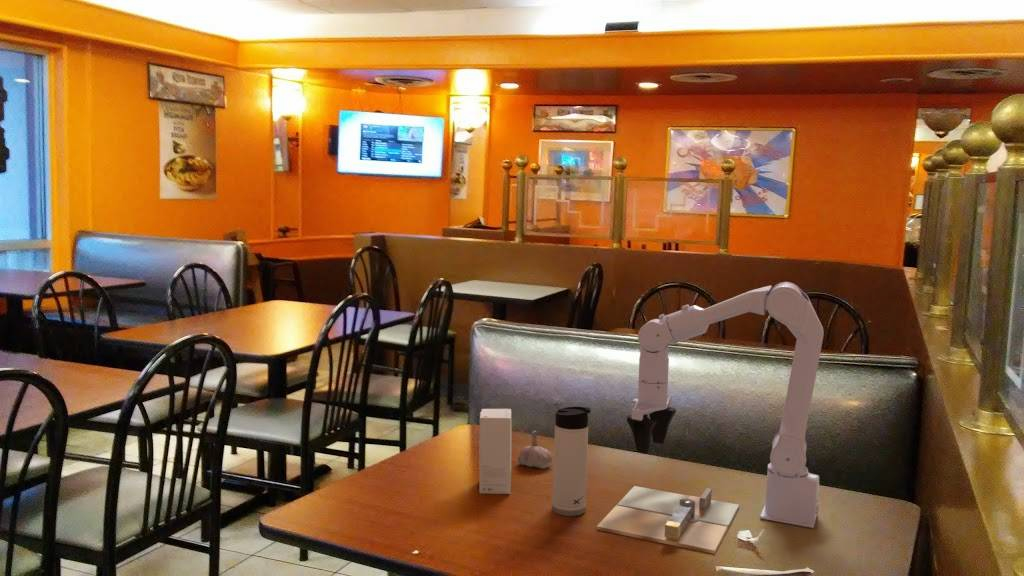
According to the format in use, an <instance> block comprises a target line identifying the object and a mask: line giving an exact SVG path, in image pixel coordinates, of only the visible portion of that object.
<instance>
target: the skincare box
mask: <svg viewBox="0 0 1024 576" xmlns="http://www.w3.org/2000/svg"><path fill="white" fill-rule="evenodd" d="M512 427H513V425H512V409H511V408H481V411H480V412H479V429H478V430H479V432H478V433H479V434H478V435H479V439H478V440H479V442H478V443H479V444H478V445H479V448H478V450H479V451H478V453H479V454H478V455H479V456H478V457H479V458H478V462H479V463H478V464H479V465H478V467H479V469H478V470H479V472H478V473H479V474H478V475H479V482H478V483H479V484H478V485H479V492H478V493H479V494H485V495H510V494H511V485H512V482H511V481H512V436H513V435H512Z"/></svg>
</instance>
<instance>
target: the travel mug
mask: <svg viewBox="0 0 1024 576" xmlns="http://www.w3.org/2000/svg"><path fill="white" fill-rule="evenodd" d="M591 413H592V410H591V407H585V406H568V407H562V408H559V409H558V410H557V411H556V412H555V416H554V417H555V423H554V442H553V446H554V448H553V449H554V450H553V479H552V511H553V512H554V513H555V514H556V515H557V514H558V515H560V516H565V517H577V516H581V515H583V514H584V513H585V512H586V505H587V504H586V502H587V501H586V498H587V476H588V475H587V472H588V468H587V467H588V446H589V445H588V442H589V414H591Z"/></svg>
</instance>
